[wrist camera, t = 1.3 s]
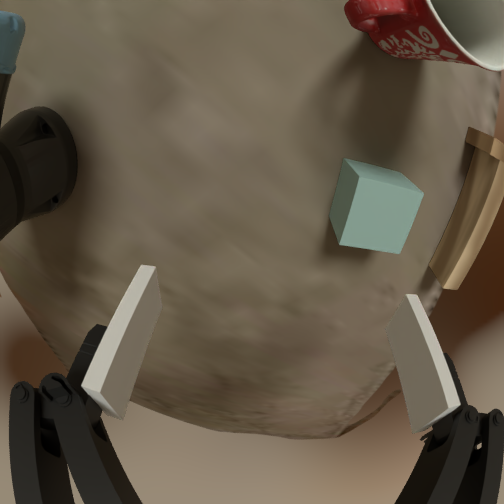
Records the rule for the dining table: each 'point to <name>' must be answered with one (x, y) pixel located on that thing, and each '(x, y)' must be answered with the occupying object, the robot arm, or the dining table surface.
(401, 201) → the block
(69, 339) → the dining table surface
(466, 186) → the stop board
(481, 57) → the mug
